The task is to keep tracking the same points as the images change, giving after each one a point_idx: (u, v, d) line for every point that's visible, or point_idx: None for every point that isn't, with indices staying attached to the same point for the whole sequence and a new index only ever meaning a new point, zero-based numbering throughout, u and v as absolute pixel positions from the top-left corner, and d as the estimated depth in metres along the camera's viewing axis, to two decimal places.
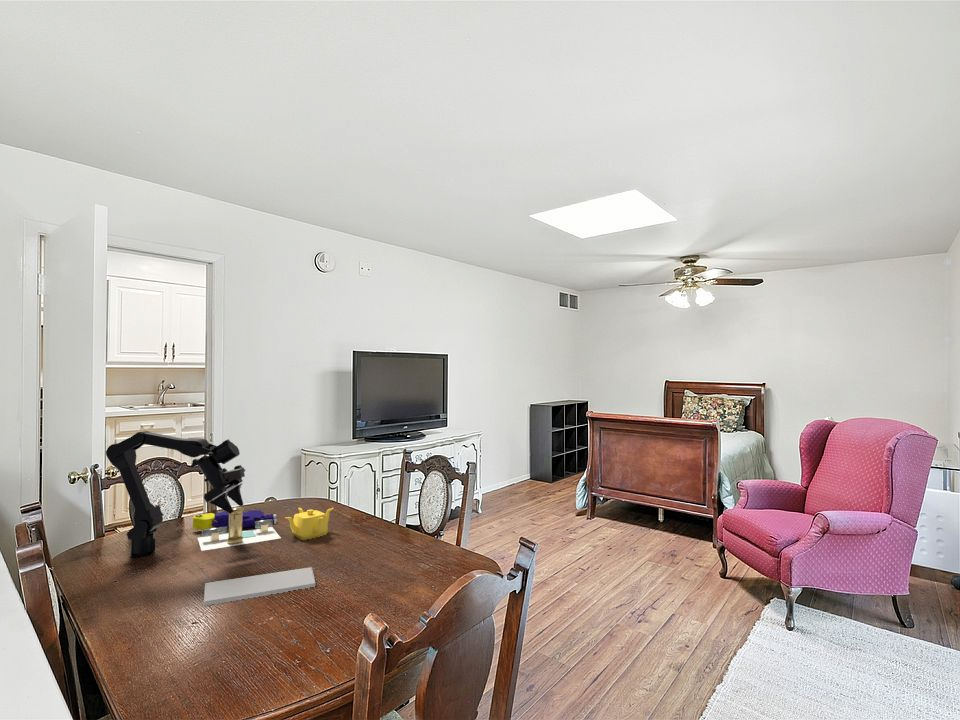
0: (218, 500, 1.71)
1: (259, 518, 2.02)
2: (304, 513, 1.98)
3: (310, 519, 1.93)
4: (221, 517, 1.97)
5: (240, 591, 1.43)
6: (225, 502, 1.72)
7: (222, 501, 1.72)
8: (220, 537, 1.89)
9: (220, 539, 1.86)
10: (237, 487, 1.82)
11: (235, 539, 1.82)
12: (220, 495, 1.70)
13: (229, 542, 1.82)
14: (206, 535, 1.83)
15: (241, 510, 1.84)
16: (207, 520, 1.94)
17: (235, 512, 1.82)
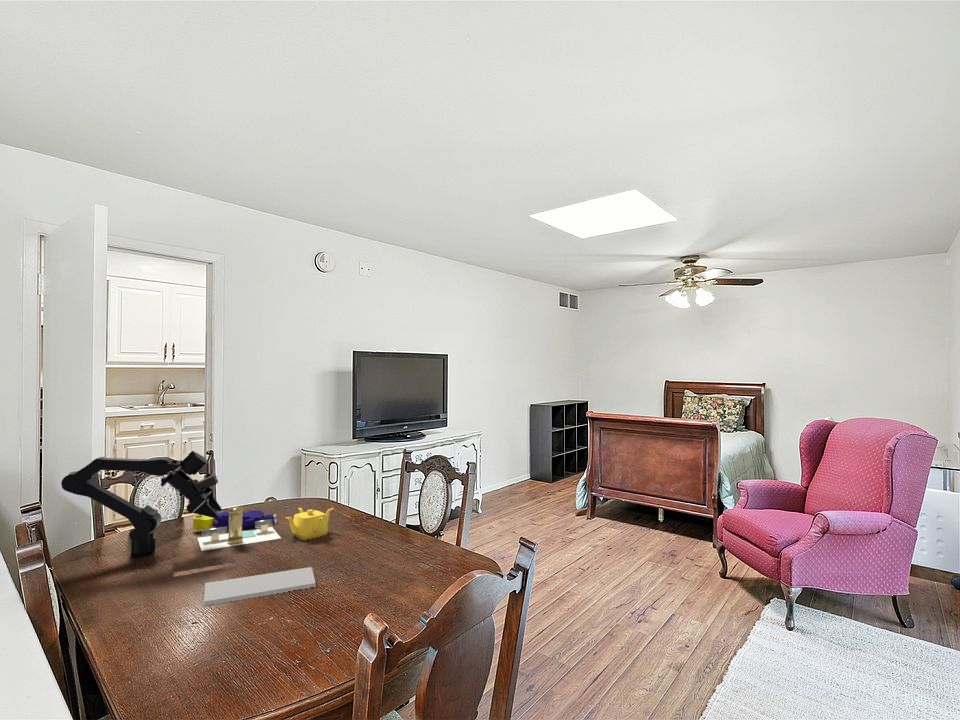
0: (201, 509, 1.75)
1: (259, 518, 2.02)
2: (304, 513, 1.98)
3: (310, 519, 1.93)
4: (221, 517, 1.97)
5: (240, 591, 1.43)
6: (208, 509, 1.76)
7: (205, 509, 1.76)
8: (220, 537, 1.89)
9: (220, 539, 1.86)
10: (211, 494, 1.86)
11: (235, 539, 1.82)
12: (203, 503, 1.74)
13: (229, 542, 1.82)
14: (206, 535, 1.83)
15: (241, 510, 1.84)
16: (207, 521, 1.93)
17: (235, 512, 1.82)
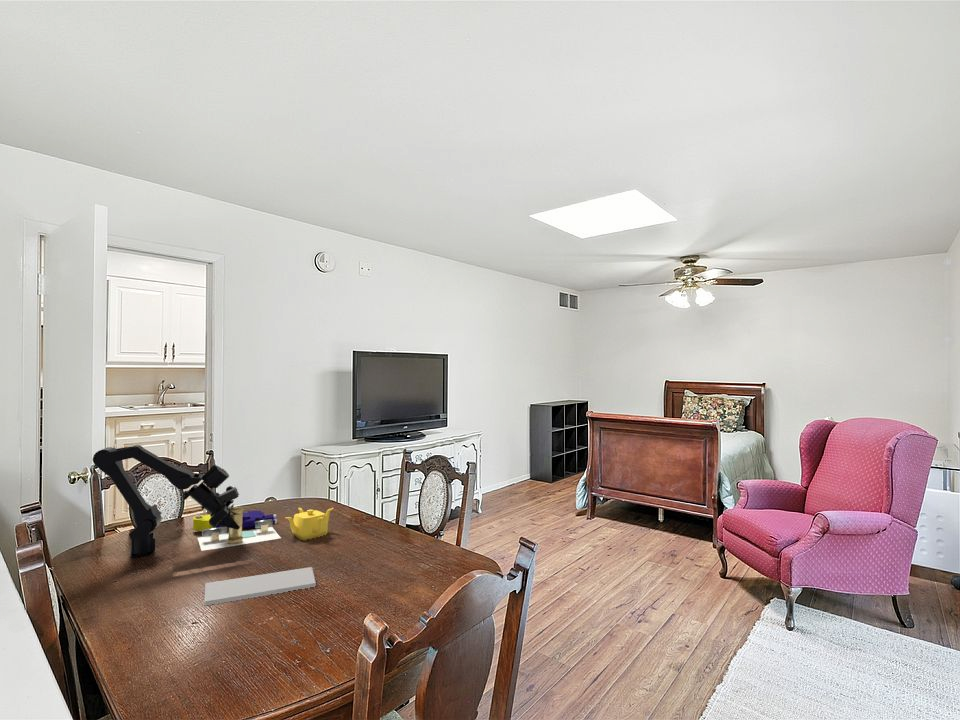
0: (223, 520, 1.80)
1: (260, 518, 2.02)
2: (304, 513, 1.98)
3: (310, 519, 1.93)
4: None
5: (240, 591, 1.43)
6: (231, 520, 1.80)
7: (227, 520, 1.80)
8: (220, 537, 1.89)
9: (220, 539, 1.86)
10: None
11: (235, 539, 1.82)
12: (226, 515, 1.78)
13: (229, 542, 1.82)
14: (206, 535, 1.83)
15: (241, 510, 1.84)
16: (208, 522, 1.93)
17: (235, 512, 1.82)
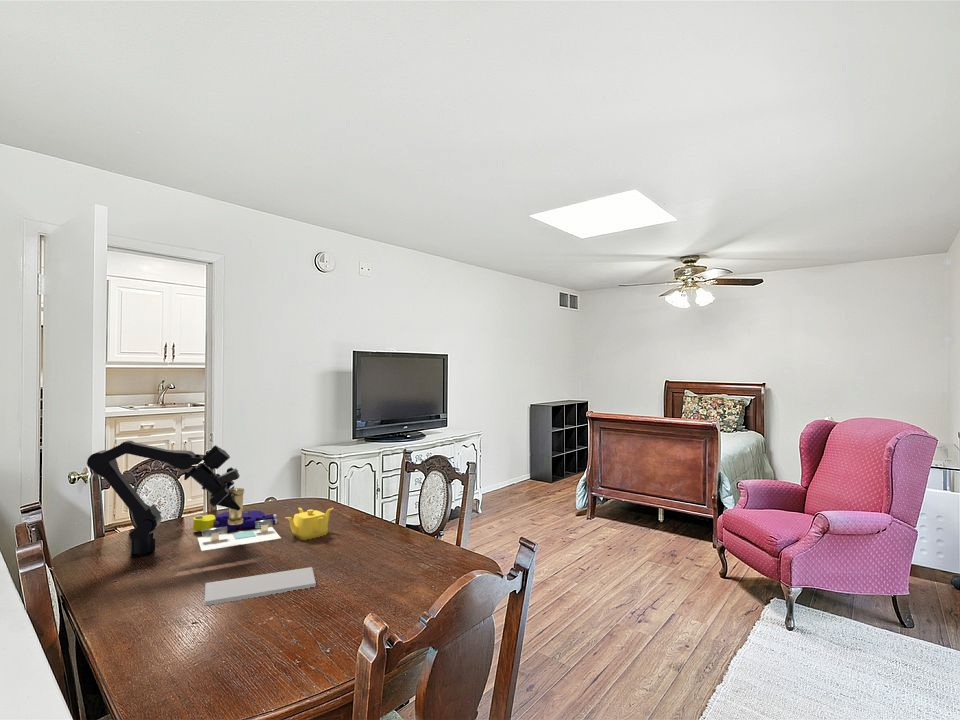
0: (224, 501, 1.80)
1: (261, 518, 2.02)
2: (304, 513, 1.98)
3: (310, 519, 1.93)
4: (222, 518, 1.96)
5: (241, 591, 1.43)
6: (231, 501, 1.81)
7: (228, 501, 1.80)
8: (220, 537, 1.89)
9: (220, 539, 1.86)
10: None
11: (235, 520, 1.82)
12: (226, 495, 1.78)
13: (229, 523, 1.82)
14: (206, 535, 1.83)
15: (242, 491, 1.84)
16: (208, 522, 1.92)
17: (236, 493, 1.82)
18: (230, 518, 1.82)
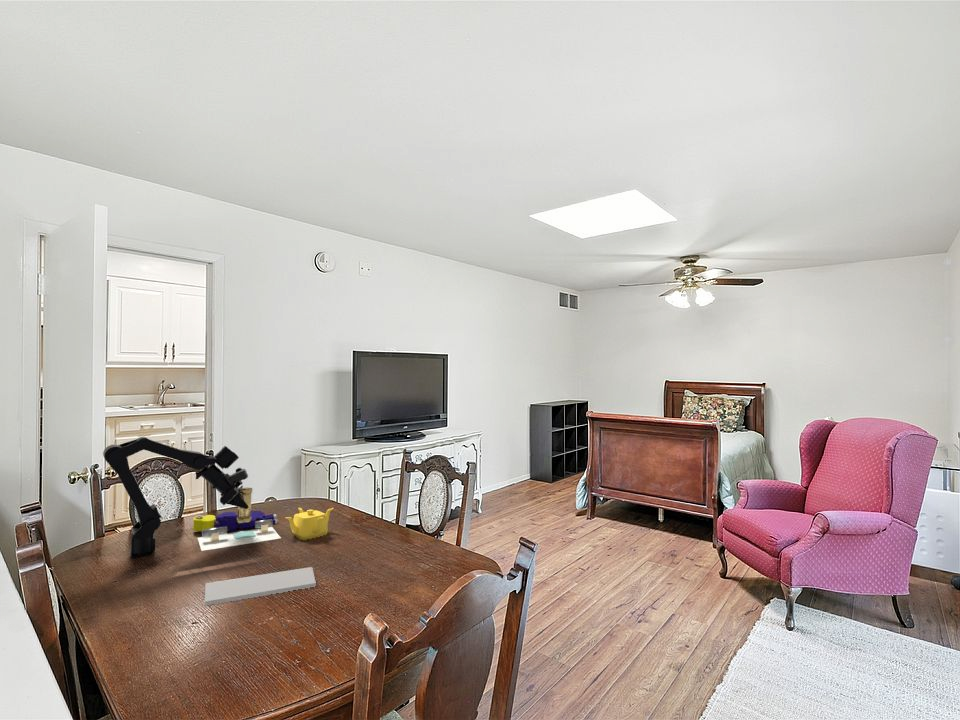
0: (233, 500, 1.87)
1: (261, 518, 2.02)
2: (304, 513, 1.98)
3: (310, 519, 1.93)
4: (223, 518, 1.96)
5: (241, 592, 1.43)
6: (240, 500, 1.88)
7: (237, 500, 1.88)
8: (220, 537, 1.89)
9: (220, 539, 1.86)
10: None
11: (244, 518, 1.90)
12: (235, 494, 1.86)
13: (238, 521, 1.89)
14: (206, 535, 1.83)
15: (250, 490, 1.91)
16: (209, 522, 1.92)
17: (244, 492, 1.90)
18: (239, 516, 1.90)
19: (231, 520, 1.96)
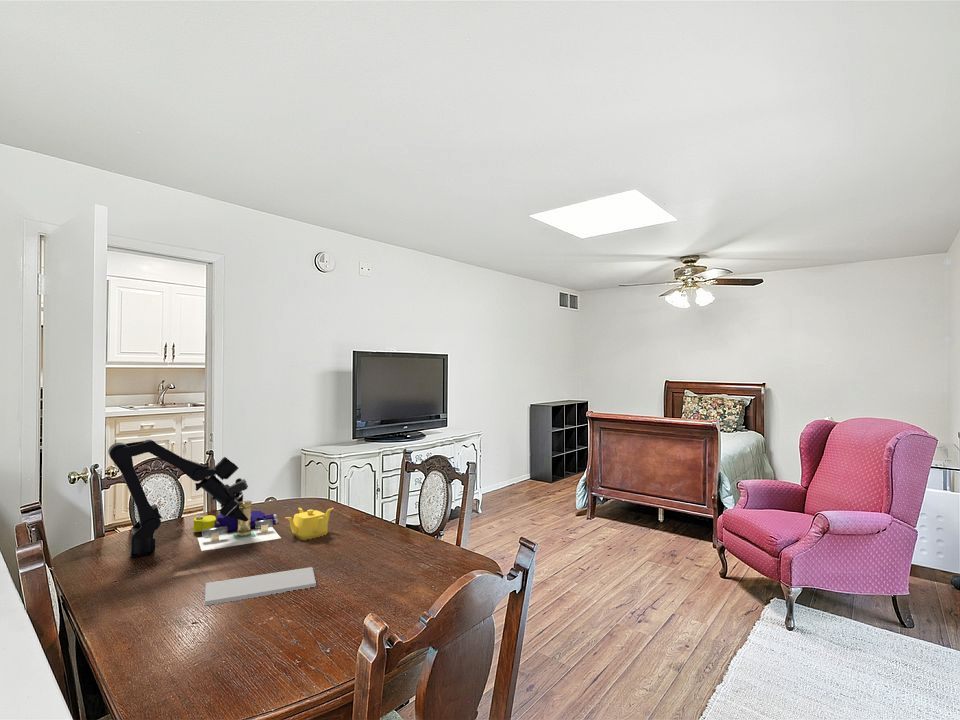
0: (232, 512, 1.85)
1: (261, 518, 2.02)
2: (304, 513, 1.98)
3: (310, 519, 1.93)
4: (223, 519, 1.95)
5: (241, 591, 1.43)
6: (240, 512, 1.86)
7: (236, 512, 1.86)
8: (220, 537, 1.89)
9: (220, 539, 1.86)
10: (241, 498, 1.96)
11: (244, 532, 1.90)
12: (235, 507, 1.84)
13: (238, 535, 1.89)
14: (206, 535, 1.83)
15: (249, 504, 1.91)
16: (210, 522, 1.92)
17: (244, 506, 1.89)
18: (238, 530, 1.90)
19: (232, 520, 1.96)
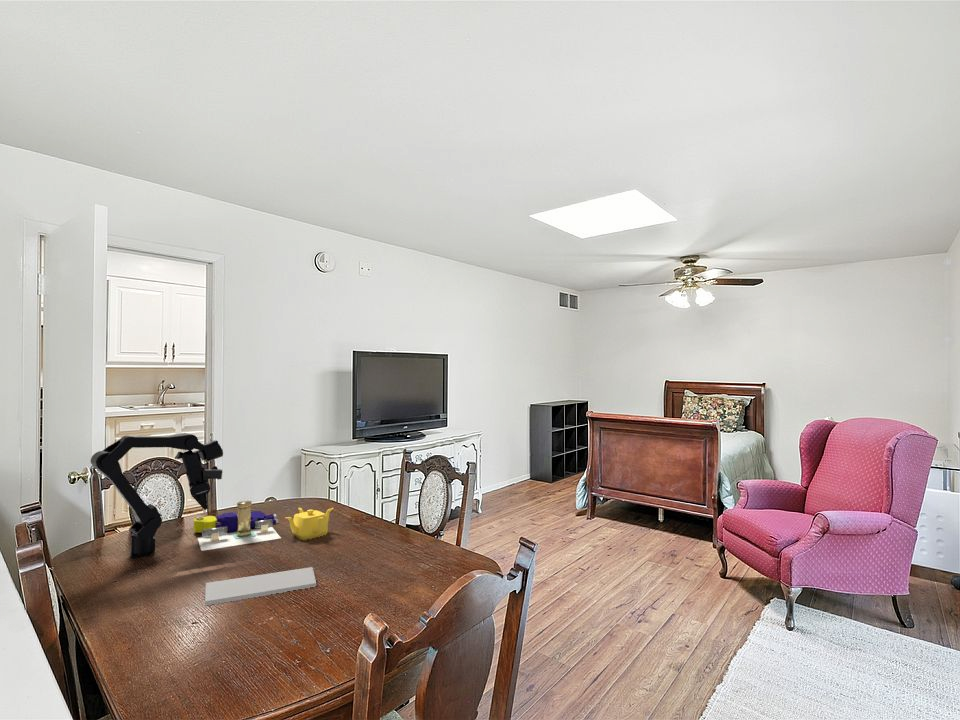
0: (199, 495, 1.82)
1: (262, 518, 2.02)
2: (304, 513, 1.98)
3: (310, 519, 1.93)
4: (224, 519, 1.95)
5: (241, 591, 1.43)
6: (205, 498, 1.83)
7: (202, 497, 1.83)
8: (220, 537, 1.89)
9: (220, 539, 1.86)
10: None
11: (244, 532, 1.90)
12: (205, 491, 1.81)
13: (238, 535, 1.89)
14: (206, 535, 1.83)
15: (249, 504, 1.91)
16: (211, 523, 1.91)
17: (244, 506, 1.89)
18: (238, 530, 1.90)
19: (233, 520, 1.95)
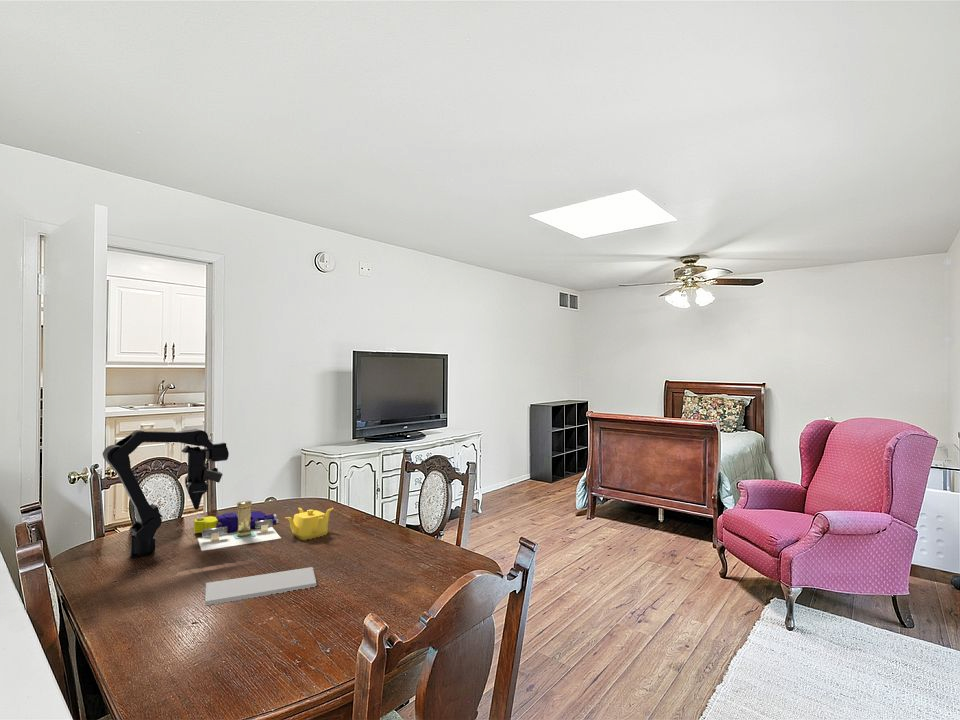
0: (194, 493, 1.82)
1: (263, 518, 2.02)
2: (304, 513, 1.98)
3: (310, 519, 1.93)
4: (225, 519, 1.95)
5: (241, 591, 1.43)
6: (199, 498, 1.82)
7: (197, 496, 1.82)
8: (220, 537, 1.89)
9: (220, 539, 1.86)
10: None
11: (244, 532, 1.90)
12: (202, 491, 1.81)
13: (238, 535, 1.89)
14: (206, 535, 1.83)
15: (249, 504, 1.91)
16: (212, 523, 1.91)
17: (244, 506, 1.89)
18: (238, 530, 1.90)
19: (234, 521, 1.95)
